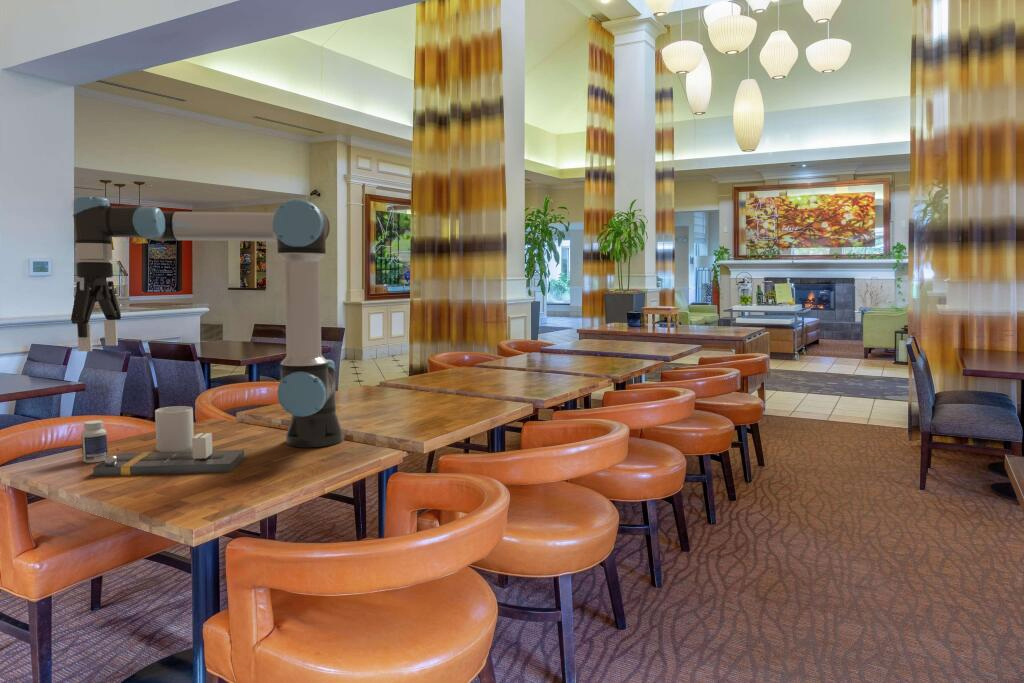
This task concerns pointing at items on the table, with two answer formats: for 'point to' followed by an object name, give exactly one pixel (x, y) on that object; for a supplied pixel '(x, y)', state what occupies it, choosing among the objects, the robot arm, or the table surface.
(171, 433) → the mug
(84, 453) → the pill bottle
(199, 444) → the fader tab
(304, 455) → the table surface
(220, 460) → the console board
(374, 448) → the table surface
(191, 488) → the table surface
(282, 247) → the robot arm
